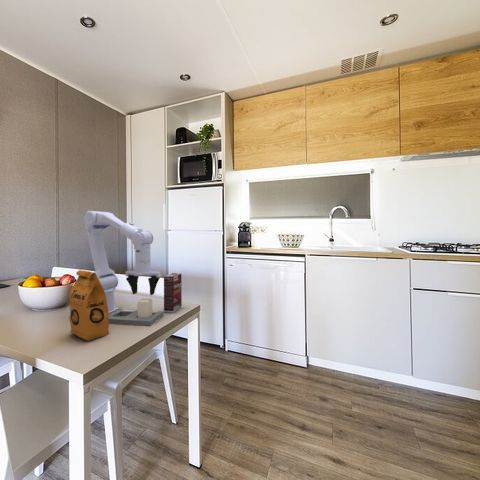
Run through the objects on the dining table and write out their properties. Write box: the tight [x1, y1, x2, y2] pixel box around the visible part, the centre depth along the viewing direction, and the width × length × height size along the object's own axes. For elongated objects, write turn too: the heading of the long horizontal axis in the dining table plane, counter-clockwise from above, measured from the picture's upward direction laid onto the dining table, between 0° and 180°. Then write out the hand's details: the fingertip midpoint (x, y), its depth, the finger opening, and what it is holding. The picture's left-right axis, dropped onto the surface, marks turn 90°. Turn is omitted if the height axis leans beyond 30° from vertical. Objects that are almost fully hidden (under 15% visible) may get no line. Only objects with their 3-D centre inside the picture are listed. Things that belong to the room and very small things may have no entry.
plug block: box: [137, 298, 153, 318], centre depth 96 cm, size 4×4×8 cm
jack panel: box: [108, 308, 165, 327], centre depth 97 cm, size 20×11×2 cm, turn 82°
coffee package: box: [68, 269, 110, 342], centre depth 83 cm, size 10×12×22 cm
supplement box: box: [163, 272, 183, 314], centre depth 108 cm, size 9×5×16 cm, turn 168°
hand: (143, 293), depth 98 cm, fingers open, 7 cm apart
